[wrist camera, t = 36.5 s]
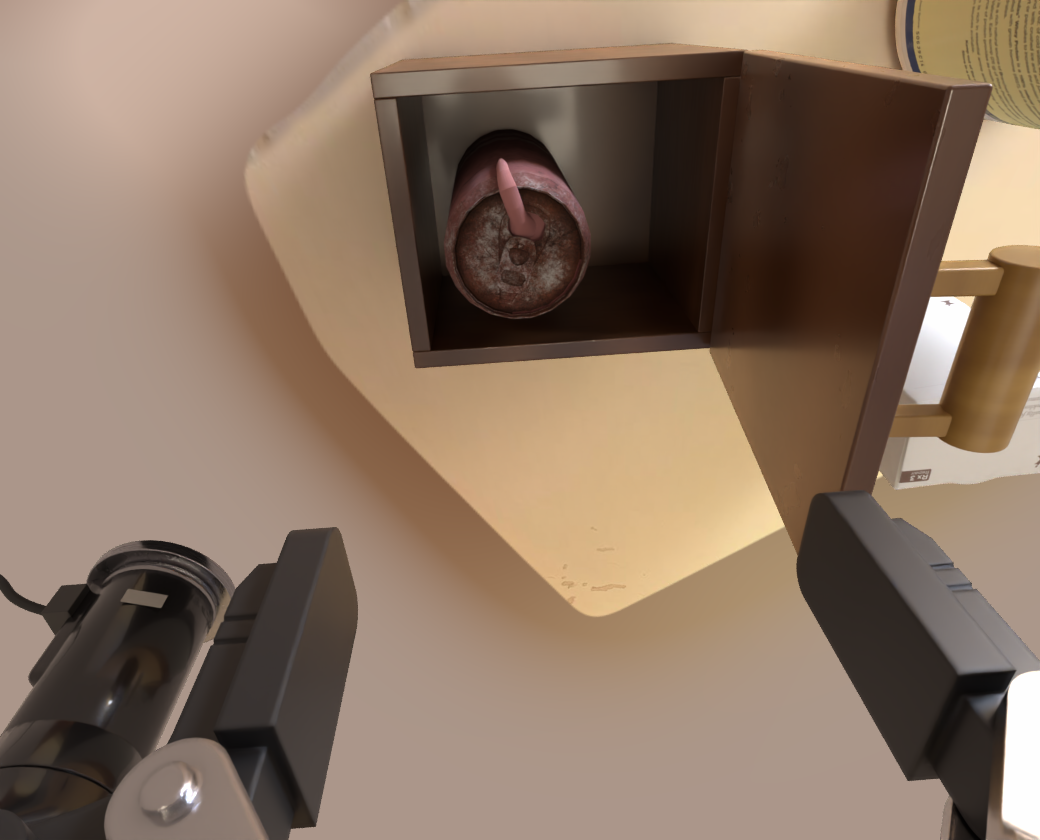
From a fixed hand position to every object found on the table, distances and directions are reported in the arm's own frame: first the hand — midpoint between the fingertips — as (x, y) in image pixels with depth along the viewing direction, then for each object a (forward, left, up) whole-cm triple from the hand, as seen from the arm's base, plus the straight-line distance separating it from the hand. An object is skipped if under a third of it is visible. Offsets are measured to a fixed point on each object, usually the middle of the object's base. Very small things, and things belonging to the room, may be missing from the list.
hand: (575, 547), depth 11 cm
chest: (+2, 0, -32) cm, 32 cm away
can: (0, 0, -31) cm, 31 cm away
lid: (+8, 0, -12) cm, 14 cm away
